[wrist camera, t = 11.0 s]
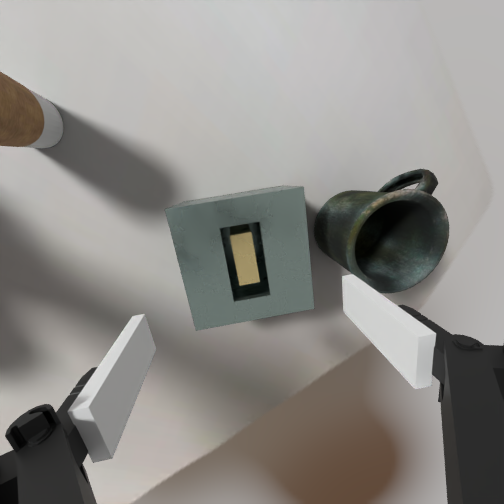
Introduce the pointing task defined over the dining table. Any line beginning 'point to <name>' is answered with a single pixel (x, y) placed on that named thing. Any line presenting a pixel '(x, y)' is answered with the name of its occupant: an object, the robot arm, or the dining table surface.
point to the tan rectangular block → (244, 254)
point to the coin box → (222, 259)
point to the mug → (386, 232)
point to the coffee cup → (27, 117)
